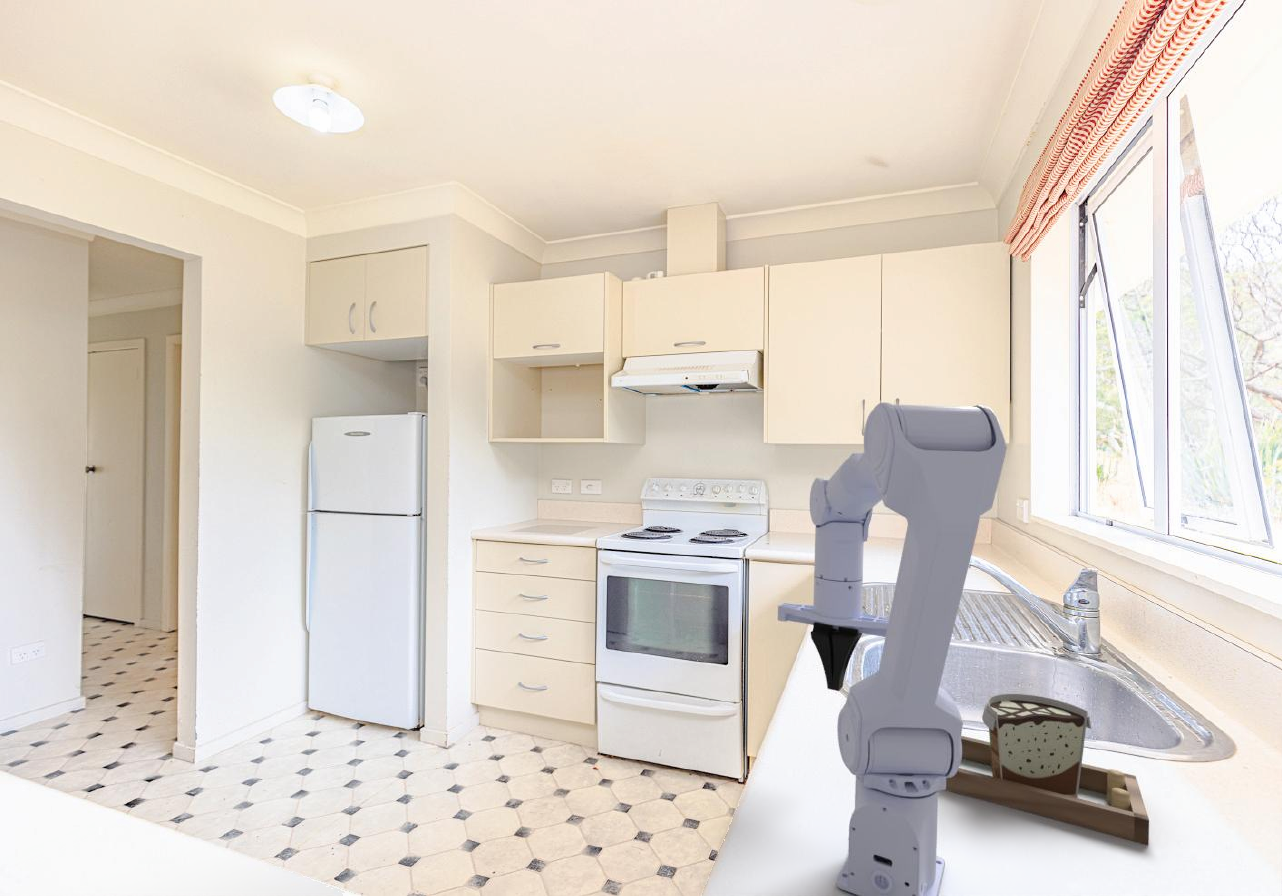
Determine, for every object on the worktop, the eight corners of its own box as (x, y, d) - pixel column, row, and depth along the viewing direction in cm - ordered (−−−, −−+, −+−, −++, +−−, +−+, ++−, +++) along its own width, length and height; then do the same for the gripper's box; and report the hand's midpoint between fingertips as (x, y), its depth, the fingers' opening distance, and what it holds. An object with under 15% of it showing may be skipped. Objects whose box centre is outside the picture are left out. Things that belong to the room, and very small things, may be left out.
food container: (1051, 770, 82) (1053, 691, 82) (1089, 796, 76) (1091, 711, 76) (958, 772, 81) (960, 692, 81) (990, 799, 74) (992, 712, 75)
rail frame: (1148, 844, 66) (1149, 810, 66) (933, 786, 77) (934, 757, 77) (1135, 797, 76) (1135, 767, 76) (945, 751, 86) (946, 724, 86)
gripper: (906, 579, 79) (903, 690, 79) (791, 565, 87) (788, 666, 87) (895, 589, 73) (892, 709, 73) (773, 573, 81) (770, 682, 81)
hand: (835, 687), depth 80 cm, fingers closed
